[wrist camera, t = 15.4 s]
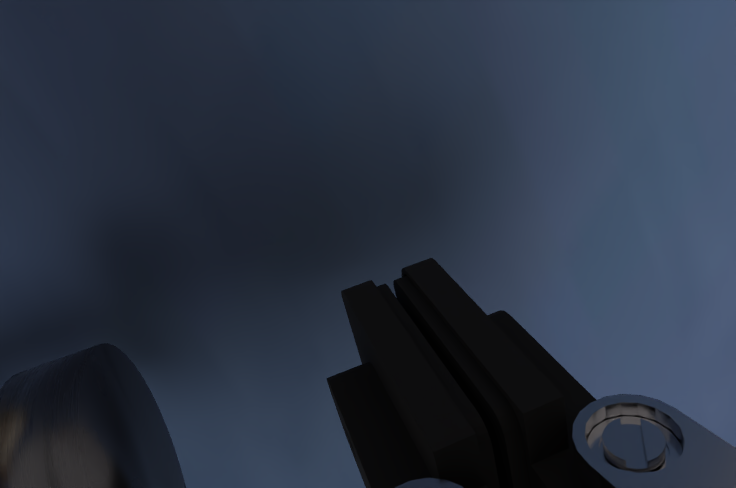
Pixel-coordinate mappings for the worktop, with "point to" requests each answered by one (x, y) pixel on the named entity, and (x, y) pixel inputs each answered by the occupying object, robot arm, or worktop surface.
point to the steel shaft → (84, 426)
